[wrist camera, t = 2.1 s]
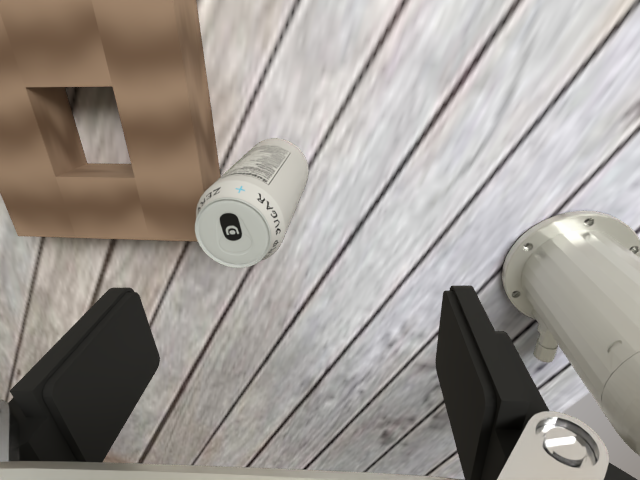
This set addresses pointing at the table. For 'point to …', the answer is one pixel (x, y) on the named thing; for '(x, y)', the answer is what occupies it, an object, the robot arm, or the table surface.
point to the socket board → (134, 109)
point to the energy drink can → (252, 204)
